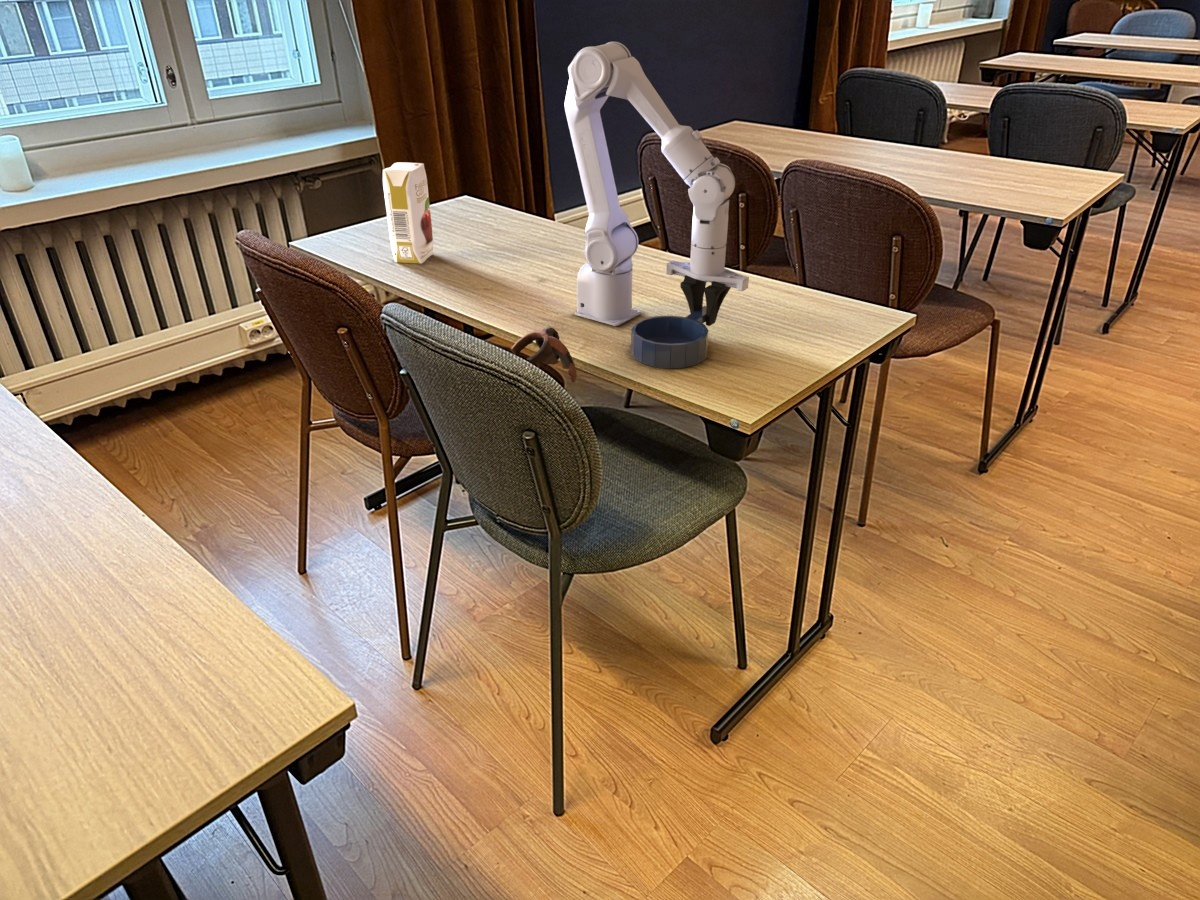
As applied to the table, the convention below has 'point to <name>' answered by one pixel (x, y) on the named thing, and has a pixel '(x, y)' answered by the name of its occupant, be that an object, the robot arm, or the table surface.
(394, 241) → the juice carton
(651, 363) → the blue measuring scoop
